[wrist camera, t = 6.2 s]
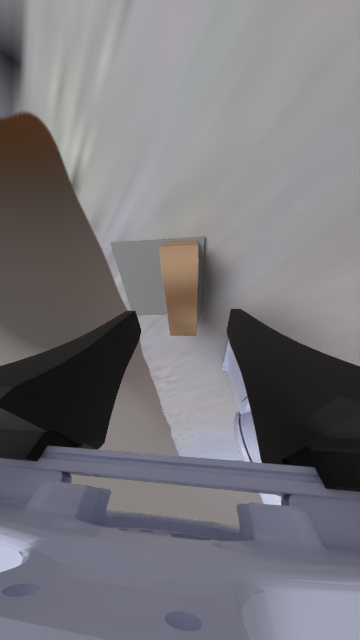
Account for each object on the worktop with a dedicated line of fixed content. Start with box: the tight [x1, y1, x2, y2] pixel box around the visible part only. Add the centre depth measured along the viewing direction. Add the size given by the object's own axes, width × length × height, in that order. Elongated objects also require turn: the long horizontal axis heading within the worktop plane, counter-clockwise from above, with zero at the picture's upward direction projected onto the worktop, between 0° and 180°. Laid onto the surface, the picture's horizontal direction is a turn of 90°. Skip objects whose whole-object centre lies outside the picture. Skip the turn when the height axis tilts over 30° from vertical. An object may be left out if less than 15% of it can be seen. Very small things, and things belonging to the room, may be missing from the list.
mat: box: [111, 237, 205, 314], centre depth 18 cm, size 10×11×1 cm
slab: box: [159, 240, 199, 336], centre depth 15 cm, size 9×3×6 cm, turn 3°
